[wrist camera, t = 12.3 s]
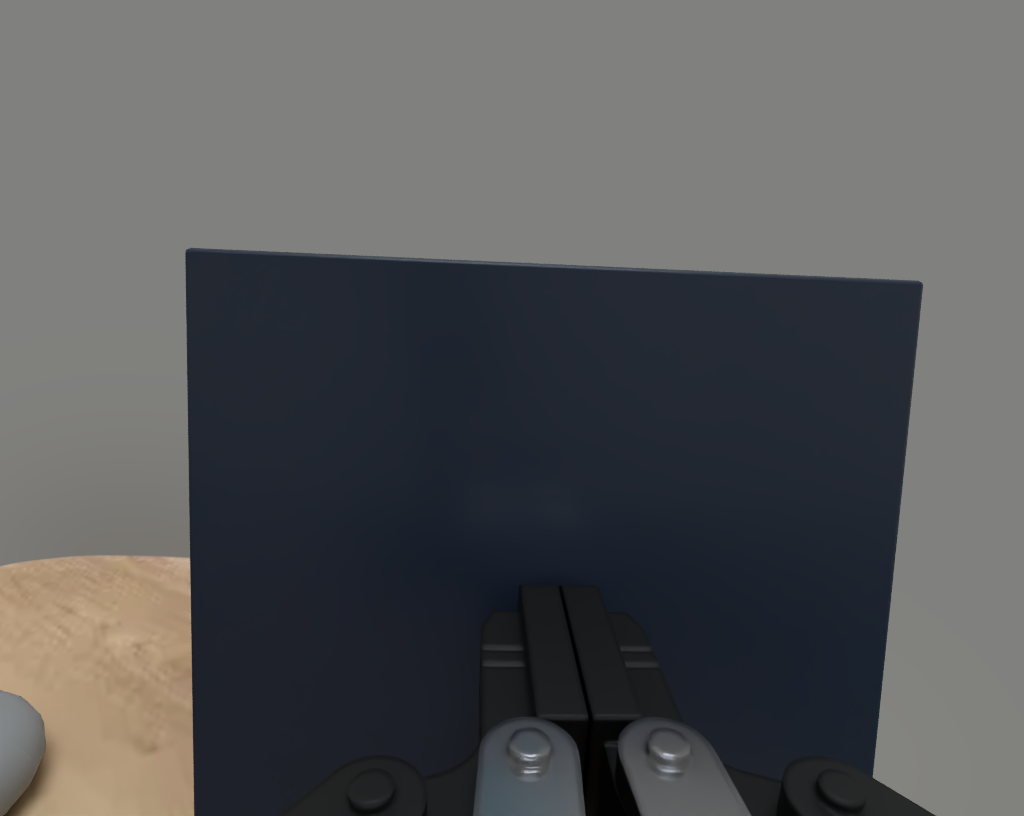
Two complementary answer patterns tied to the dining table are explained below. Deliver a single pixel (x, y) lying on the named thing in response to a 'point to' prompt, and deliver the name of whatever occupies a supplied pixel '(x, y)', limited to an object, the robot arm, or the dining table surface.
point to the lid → (532, 499)
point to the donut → (18, 747)
